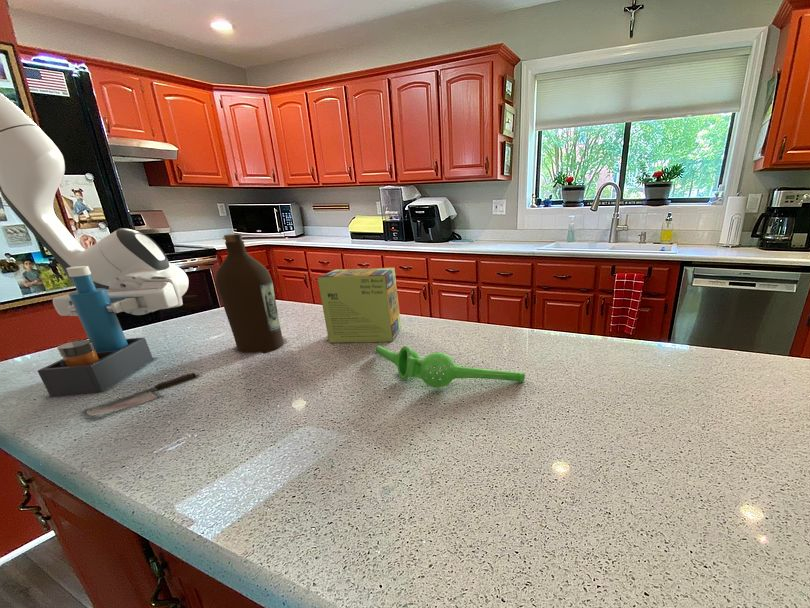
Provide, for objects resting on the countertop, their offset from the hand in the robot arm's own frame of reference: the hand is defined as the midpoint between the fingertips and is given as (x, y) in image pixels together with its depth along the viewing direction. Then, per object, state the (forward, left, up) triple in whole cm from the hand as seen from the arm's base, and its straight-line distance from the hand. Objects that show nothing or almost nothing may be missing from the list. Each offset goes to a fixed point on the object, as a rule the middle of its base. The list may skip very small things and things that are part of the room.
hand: (91, 310), depth 75 cm
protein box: (+46, -17, -13) cm, 51 cm away
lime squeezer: (+42, -48, -13) cm, 66 cm away
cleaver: (+3, -19, -13) cm, 24 cm away
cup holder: (-2, -2, -13) cm, 13 cm away
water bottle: (0, +1, -9) cm, 10 cm away
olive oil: (+25, -6, -13) cm, 29 cm away
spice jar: (-4, -5, -12) cm, 14 cm away
